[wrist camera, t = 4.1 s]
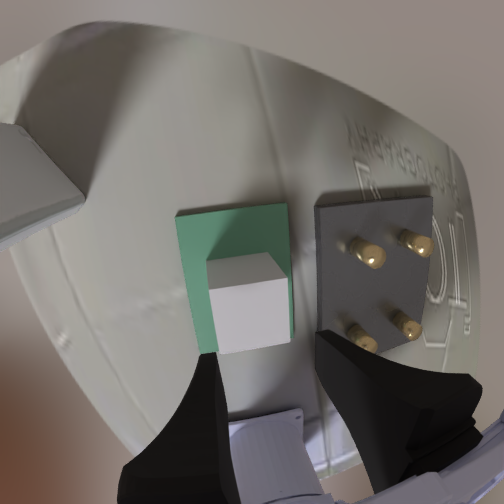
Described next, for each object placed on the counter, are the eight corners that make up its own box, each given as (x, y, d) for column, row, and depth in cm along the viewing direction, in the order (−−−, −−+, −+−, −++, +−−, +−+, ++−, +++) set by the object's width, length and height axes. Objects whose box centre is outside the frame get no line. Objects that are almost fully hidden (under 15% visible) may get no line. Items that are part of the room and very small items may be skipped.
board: (290, 332, 23) (313, 374, 18) (200, 347, 22) (202, 395, 17) (283, 201, 19) (313, 216, 14) (175, 215, 18) (167, 235, 13)
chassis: (411, 333, 25) (433, 352, 22) (317, 363, 23) (332, 389, 20) (424, 195, 21) (454, 202, 18) (313, 206, 19) (336, 215, 16)
